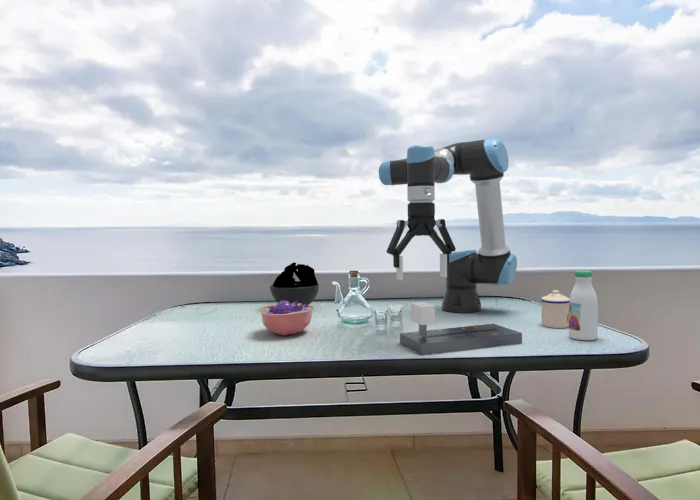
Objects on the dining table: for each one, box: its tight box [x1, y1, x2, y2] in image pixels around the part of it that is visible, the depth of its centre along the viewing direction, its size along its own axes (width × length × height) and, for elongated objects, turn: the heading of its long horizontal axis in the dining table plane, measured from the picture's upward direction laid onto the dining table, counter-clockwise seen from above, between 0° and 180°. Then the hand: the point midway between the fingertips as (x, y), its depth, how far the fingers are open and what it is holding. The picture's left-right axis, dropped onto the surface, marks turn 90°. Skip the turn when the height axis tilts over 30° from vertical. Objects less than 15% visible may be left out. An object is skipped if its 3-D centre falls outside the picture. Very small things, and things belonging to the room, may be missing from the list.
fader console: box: [399, 323, 523, 356], centre depth 147 cm, size 14×32×3 cm, turn 109°
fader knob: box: [410, 301, 436, 336], centre depth 143 cm, size 7×4×9 cm, turn 19°
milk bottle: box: [568, 269, 599, 341], centre depth 150 cm, size 8×8×20 cm
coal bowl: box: [269, 261, 320, 306], centre depth 209 cm, size 20×20×19 cm
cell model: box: [260, 301, 313, 336], centre depth 165 cm, size 17×20×11 cm
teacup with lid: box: [540, 289, 570, 329], centre depth 169 cm, size 12×9×12 cm
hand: (421, 278), depth 142 cm, fingers open, 13 cm apart
